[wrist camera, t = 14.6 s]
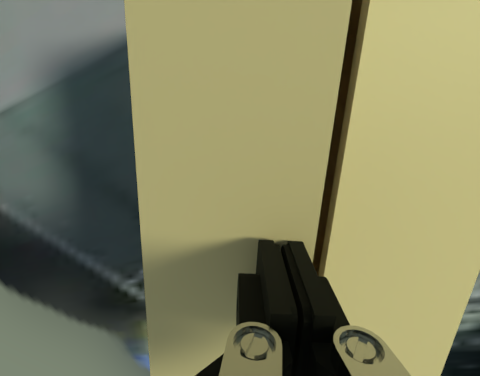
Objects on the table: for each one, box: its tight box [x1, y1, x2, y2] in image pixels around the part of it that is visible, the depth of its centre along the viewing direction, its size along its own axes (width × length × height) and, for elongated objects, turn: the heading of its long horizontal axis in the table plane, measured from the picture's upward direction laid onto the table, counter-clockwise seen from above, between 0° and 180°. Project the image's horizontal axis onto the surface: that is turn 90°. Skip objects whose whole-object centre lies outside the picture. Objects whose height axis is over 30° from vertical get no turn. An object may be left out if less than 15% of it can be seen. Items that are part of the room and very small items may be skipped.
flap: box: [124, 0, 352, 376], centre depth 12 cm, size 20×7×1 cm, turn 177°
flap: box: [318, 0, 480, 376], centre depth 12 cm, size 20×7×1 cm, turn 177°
